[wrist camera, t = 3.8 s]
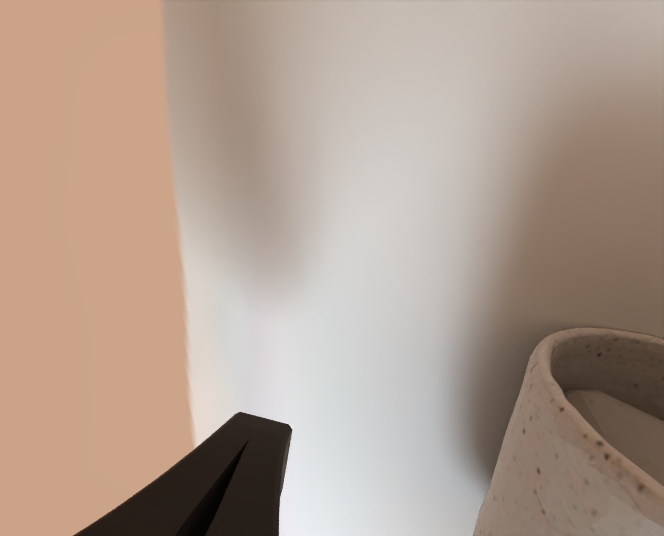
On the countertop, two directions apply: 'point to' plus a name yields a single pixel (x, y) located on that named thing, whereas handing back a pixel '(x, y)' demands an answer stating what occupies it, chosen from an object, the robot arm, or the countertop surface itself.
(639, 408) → the ceramic mug
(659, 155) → the countertop surface
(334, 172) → the countertop surface
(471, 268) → the countertop surface
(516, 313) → the countertop surface
